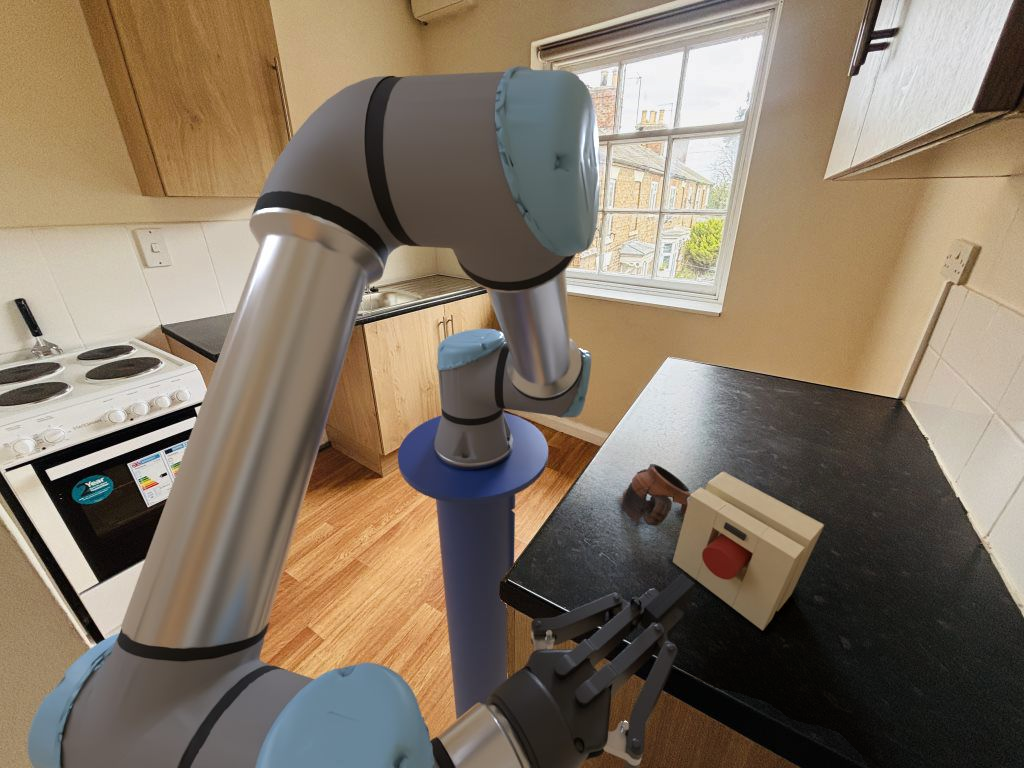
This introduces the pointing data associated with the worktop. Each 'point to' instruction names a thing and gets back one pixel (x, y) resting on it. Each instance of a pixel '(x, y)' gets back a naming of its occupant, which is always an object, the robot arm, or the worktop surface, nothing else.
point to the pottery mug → (653, 495)
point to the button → (725, 557)
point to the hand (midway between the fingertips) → (685, 587)
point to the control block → (747, 545)
